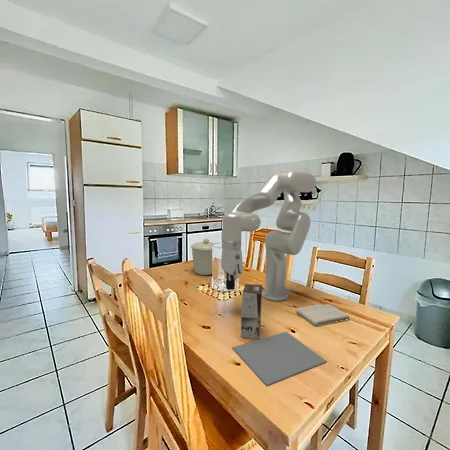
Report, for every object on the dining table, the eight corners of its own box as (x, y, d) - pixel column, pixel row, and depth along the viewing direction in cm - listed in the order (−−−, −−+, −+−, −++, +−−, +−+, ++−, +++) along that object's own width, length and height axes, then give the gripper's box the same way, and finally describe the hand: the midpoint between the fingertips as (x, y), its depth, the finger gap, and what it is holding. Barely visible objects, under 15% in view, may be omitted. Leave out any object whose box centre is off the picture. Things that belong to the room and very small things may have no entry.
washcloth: (351, 321, 104) (351, 313, 104) (315, 328, 97) (315, 320, 97) (329, 308, 115) (329, 301, 115) (295, 314, 108) (296, 307, 108)
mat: (286, 332, 93) (286, 331, 93) (326, 362, 77) (326, 361, 77) (232, 348, 83) (232, 347, 83) (266, 386, 67) (266, 384, 67)
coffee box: (259, 339, 88) (261, 294, 86) (240, 337, 90) (241, 292, 88) (260, 326, 97) (262, 284, 95) (243, 324, 98) (245, 282, 96)
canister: (226, 273, 159) (227, 239, 156) (204, 280, 146) (205, 242, 143) (206, 266, 171) (207, 234, 168) (184, 272, 158) (184, 238, 155)
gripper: (249, 247, 99) (247, 294, 101) (230, 240, 112) (229, 281, 114) (232, 249, 95) (231, 297, 98) (214, 241, 108) (213, 284, 111)
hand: (230, 288), depth 106 cm, fingers closed
